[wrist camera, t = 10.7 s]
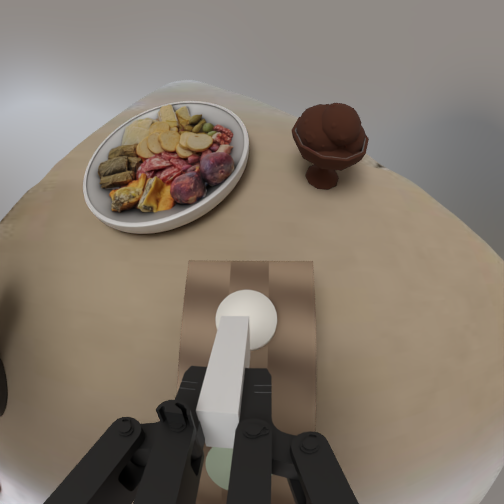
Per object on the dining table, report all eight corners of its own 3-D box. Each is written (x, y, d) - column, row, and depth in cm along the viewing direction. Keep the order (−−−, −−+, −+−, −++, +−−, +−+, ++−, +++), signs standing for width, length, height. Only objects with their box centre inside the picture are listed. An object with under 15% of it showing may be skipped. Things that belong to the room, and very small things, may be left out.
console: (291, 538, 19) (298, 577, 10) (201, 533, 20) (182, 569, 11) (301, 292, 35) (312, 261, 26) (208, 291, 36) (188, 260, 27)
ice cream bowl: (358, 165, 44) (379, 96, 30) (345, 213, 40) (372, 139, 26) (301, 146, 46) (308, 75, 33) (280, 190, 42) (283, 112, 28)
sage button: (271, 469, 19) (272, 493, 14) (218, 467, 20) (205, 489, 14) (273, 424, 21) (275, 438, 16) (219, 422, 22) (205, 434, 16)
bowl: (70, 207, 44) (49, 184, 37) (159, 110, 55) (150, 84, 48) (187, 275, 37) (169, 250, 30) (278, 138, 48) (279, 105, 41)
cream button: (274, 355, 26) (276, 349, 21) (224, 353, 26) (213, 347, 21) (275, 307, 28) (277, 289, 23) (227, 306, 28) (217, 289, 23)
